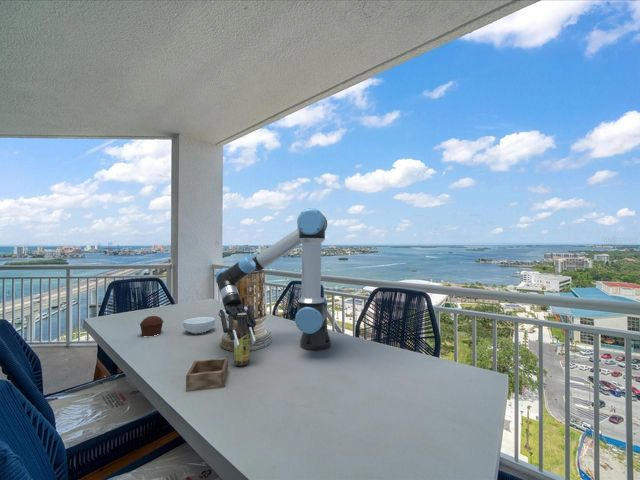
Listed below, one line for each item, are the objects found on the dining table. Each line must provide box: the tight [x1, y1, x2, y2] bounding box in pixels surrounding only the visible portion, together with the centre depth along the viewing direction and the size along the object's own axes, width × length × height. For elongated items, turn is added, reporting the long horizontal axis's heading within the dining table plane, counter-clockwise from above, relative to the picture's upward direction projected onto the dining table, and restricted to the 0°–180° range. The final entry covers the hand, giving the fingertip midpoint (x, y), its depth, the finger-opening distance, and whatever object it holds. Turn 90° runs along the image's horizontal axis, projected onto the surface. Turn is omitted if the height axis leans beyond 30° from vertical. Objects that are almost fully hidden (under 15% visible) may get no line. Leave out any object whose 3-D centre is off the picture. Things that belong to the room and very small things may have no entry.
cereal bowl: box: [182, 316, 216, 335], centre depth 162 cm, size 17×17×7 cm
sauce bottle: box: [233, 312, 251, 367], centre depth 115 cm, size 7×6×20 cm
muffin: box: [139, 315, 164, 337], centre depth 157 cm, size 12×11×10 cm
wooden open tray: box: [185, 357, 229, 392], centre depth 101 cm, size 12×13×5 cm
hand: (245, 344), depth 112 cm, fingers closed on sauce bottle, 6 cm apart
